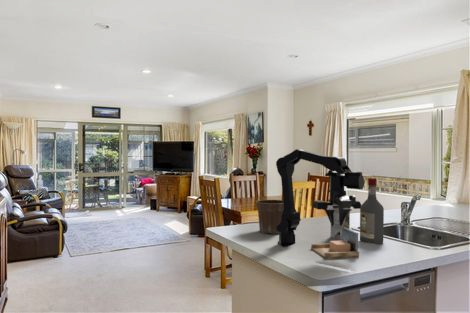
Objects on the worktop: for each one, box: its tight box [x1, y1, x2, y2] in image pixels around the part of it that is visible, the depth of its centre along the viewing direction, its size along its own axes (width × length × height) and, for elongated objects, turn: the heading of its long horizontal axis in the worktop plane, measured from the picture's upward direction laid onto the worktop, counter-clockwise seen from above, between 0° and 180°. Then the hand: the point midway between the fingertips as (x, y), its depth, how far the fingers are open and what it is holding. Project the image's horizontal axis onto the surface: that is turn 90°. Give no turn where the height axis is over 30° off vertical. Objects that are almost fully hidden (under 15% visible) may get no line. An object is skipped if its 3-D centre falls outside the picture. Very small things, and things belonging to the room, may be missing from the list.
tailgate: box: [342, 227, 359, 252], centre depth 145 cm, size 10×11×1 cm
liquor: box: [359, 177, 385, 245], centre depth 165 cm, size 9×9×30 cm
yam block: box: [329, 239, 350, 252], centre depth 144 cm, size 6×6×4 cm
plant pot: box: [255, 199, 284, 235], centre depth 185 cm, size 16×16×16 cm
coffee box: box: [330, 207, 351, 240], centre depth 173 cm, size 9×6×16 cm
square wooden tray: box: [310, 242, 360, 260], centre depth 143 cm, size 14×14×3 cm
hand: (336, 225), depth 143 cm, fingers open, 3 cm apart
